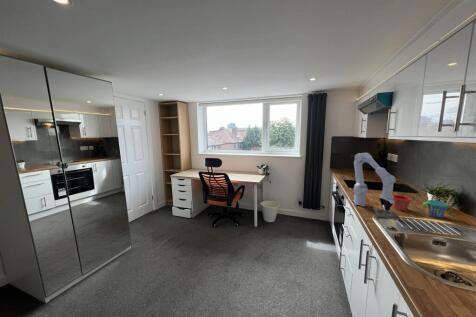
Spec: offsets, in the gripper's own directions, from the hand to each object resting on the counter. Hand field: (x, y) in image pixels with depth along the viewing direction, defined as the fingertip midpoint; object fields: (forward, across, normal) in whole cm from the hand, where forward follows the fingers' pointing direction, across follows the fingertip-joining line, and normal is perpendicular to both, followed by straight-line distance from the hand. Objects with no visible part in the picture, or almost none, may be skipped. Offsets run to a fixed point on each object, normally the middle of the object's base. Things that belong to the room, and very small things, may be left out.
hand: (385, 209), depth 137 cm
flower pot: (+4, -13, +18) cm, 22 cm away
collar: (+4, 0, 0) cm, 4 cm away
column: (+3, 0, 0) cm, 3 cm away
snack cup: (+4, -3, +35) cm, 35 cm away
